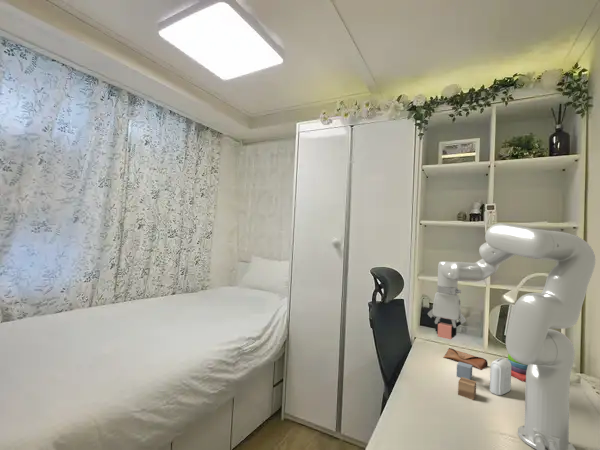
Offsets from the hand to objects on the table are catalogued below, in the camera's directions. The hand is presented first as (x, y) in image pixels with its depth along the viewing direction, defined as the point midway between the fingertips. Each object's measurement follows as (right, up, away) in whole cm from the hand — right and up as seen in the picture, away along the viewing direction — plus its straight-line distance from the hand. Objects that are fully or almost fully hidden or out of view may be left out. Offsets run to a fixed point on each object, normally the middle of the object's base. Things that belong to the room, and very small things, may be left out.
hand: (445, 334), depth 121 cm
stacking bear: (+37, -22, +9) cm, 44 cm away
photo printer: (+17, -19, -8) cm, 27 cm away
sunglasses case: (+19, -22, +21) cm, 36 cm away
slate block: (+9, -19, +3) cm, 21 cm away
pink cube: (0, -1, 0) cm, 1 cm away
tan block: (+1, -17, -13) cm, 22 cm away
